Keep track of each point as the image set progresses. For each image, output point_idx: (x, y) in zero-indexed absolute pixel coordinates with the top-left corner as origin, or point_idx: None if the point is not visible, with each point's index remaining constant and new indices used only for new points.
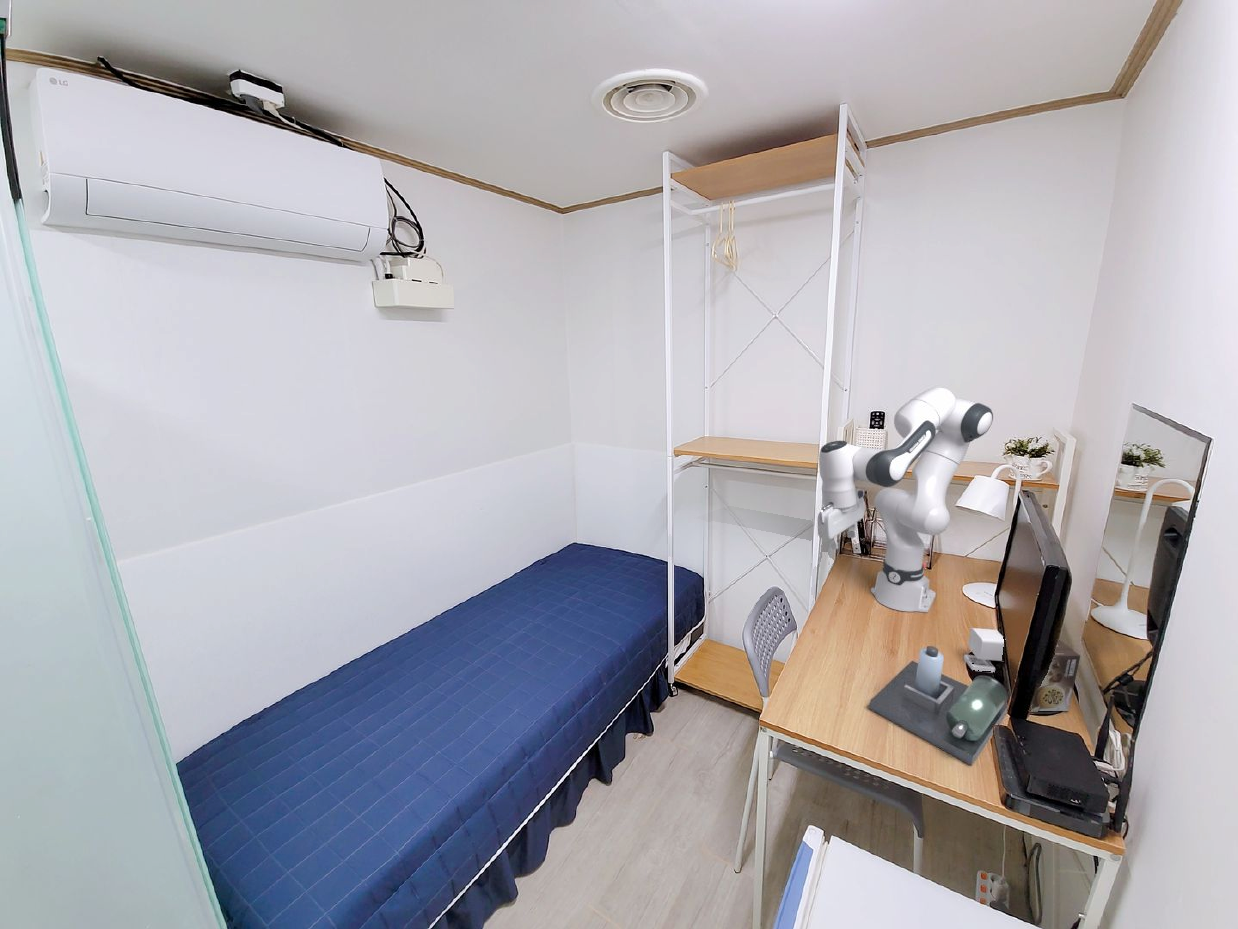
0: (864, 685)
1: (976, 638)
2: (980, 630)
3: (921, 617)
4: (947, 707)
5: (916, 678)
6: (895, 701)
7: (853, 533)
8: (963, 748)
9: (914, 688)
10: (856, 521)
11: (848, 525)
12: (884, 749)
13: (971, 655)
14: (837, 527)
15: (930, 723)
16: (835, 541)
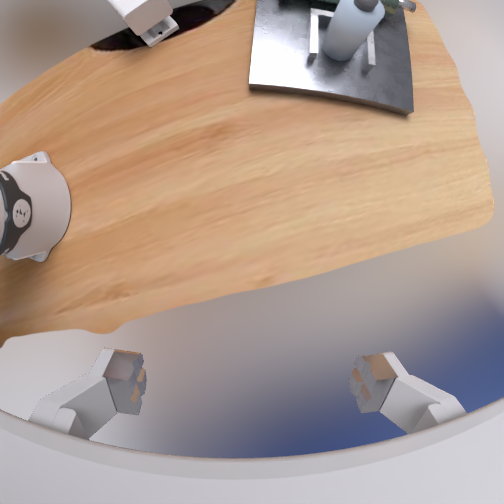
0: (361, 135)
1: (147, 6)
2: (126, 5)
3: (64, 150)
4: None
5: (357, 46)
6: (387, 79)
7: (124, 373)
8: (398, 9)
9: (346, 57)
10: (57, 440)
11: (269, 483)
12: (449, 87)
13: (143, 37)
14: (500, 464)
15: (391, 37)
16: (432, 388)
